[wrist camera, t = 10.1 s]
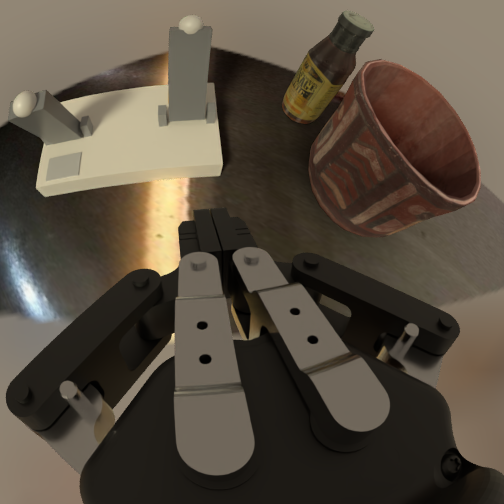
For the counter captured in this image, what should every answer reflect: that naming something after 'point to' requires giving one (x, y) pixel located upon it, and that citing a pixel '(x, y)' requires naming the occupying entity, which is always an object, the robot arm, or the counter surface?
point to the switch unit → (130, 143)
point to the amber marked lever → (188, 69)
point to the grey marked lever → (44, 117)
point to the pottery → (392, 154)
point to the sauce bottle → (326, 69)
